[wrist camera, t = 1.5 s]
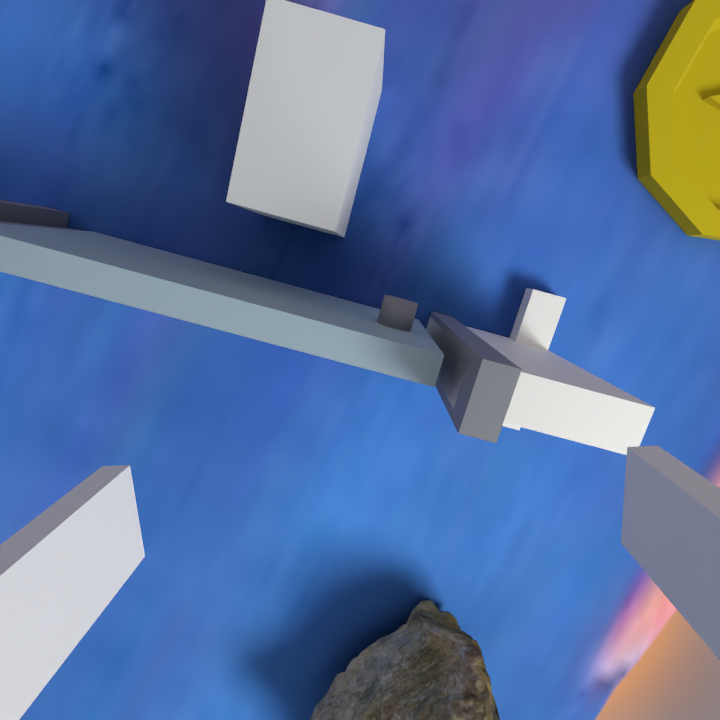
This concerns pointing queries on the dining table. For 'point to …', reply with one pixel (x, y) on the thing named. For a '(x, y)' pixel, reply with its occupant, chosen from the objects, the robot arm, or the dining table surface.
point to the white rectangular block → (307, 116)
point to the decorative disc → (683, 121)
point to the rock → (414, 675)
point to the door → (225, 299)
